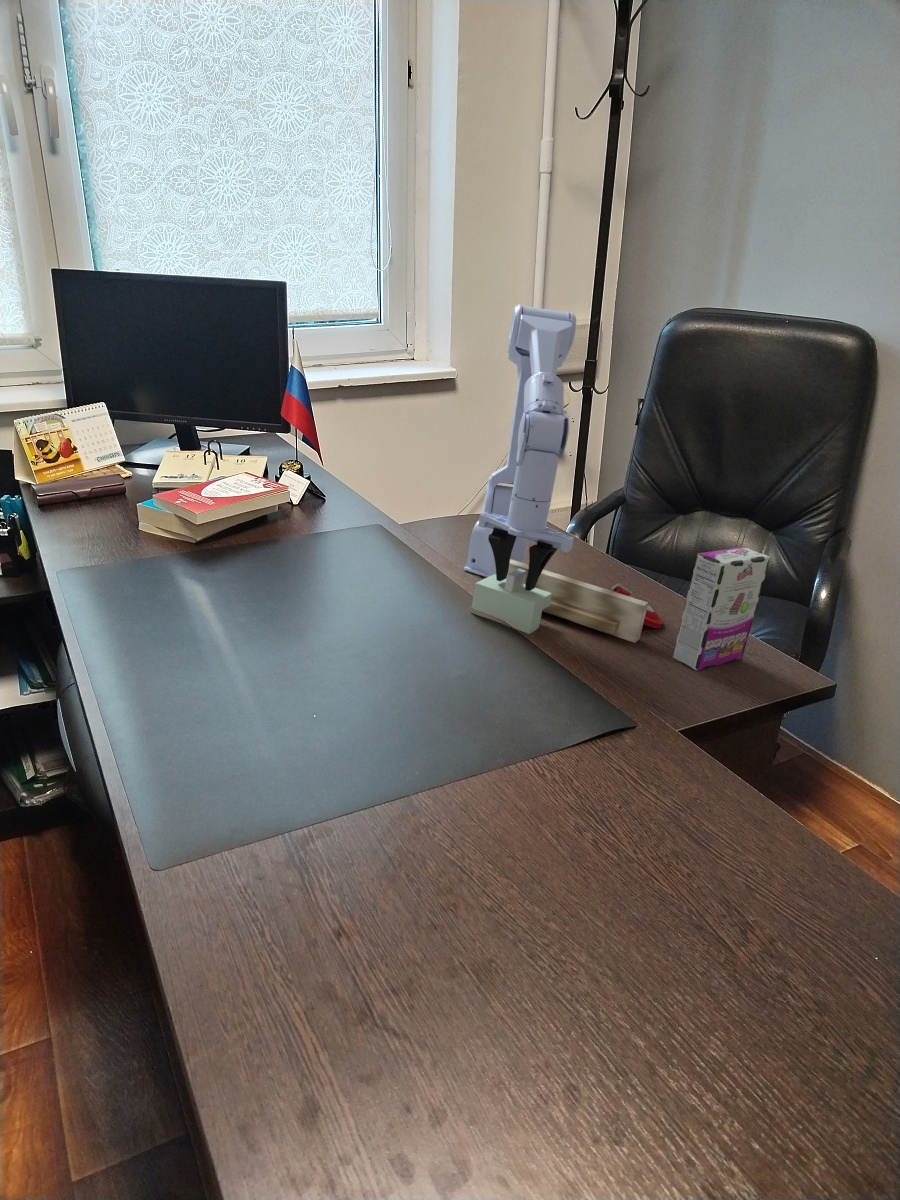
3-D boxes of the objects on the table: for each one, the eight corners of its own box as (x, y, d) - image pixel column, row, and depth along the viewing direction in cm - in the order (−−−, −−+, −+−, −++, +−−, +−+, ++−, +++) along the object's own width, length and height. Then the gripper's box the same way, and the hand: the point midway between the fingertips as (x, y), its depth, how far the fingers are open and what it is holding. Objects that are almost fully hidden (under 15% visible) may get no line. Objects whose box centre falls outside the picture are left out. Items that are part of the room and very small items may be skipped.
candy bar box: (715, 646, 128) (743, 545, 122) (742, 660, 124) (773, 556, 118) (668, 657, 121) (696, 551, 115) (695, 672, 118) (726, 563, 112)
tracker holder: (676, 620, 134) (646, 616, 126) (661, 642, 135) (630, 640, 128) (623, 578, 141) (591, 572, 133) (609, 600, 142) (577, 595, 135)
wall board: (488, 598, 133) (494, 562, 131) (500, 592, 136) (506, 557, 134) (630, 646, 123) (639, 609, 121) (639, 639, 126) (648, 602, 124)
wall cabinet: (470, 613, 126) (478, 567, 124) (488, 603, 131) (496, 559, 129) (529, 634, 122) (538, 587, 119) (546, 623, 127) (555, 577, 124)
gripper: (474, 487, 120) (460, 576, 125) (566, 513, 114) (548, 605, 118) (497, 481, 126) (483, 566, 131) (585, 505, 119) (567, 593, 124)
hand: (515, 584), depth 125 cm, fingers open, 4 cm apart
